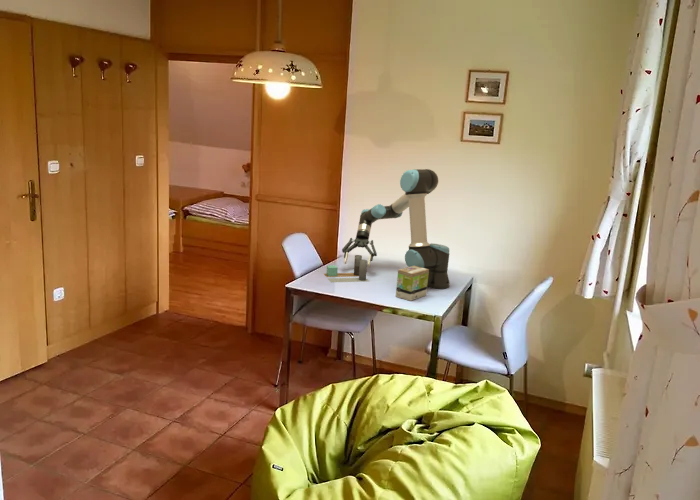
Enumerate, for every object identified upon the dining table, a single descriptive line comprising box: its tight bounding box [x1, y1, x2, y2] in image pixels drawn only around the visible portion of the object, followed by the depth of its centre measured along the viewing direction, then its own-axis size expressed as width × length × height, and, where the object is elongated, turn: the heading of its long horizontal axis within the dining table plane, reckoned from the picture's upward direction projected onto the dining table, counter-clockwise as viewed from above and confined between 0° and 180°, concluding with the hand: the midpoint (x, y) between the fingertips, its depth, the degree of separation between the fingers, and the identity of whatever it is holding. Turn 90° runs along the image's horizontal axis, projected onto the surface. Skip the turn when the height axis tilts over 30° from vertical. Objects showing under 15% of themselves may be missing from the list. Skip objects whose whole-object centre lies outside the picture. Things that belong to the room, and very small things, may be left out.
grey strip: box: [327, 259, 370, 283], centre depth 339 cm, size 7×22×12 cm, turn 106°
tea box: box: [395, 266, 429, 302], centre depth 320 cm, size 15×10×15 cm, turn 141°
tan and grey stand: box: [323, 254, 363, 278], centre depth 348 cm, size 7×22×12 cm, turn 106°
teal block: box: [326, 264, 339, 276], centre depth 347 cm, size 5×5×5 cm
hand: (356, 264), depth 351 cm, fingers open, 13 cm apart
